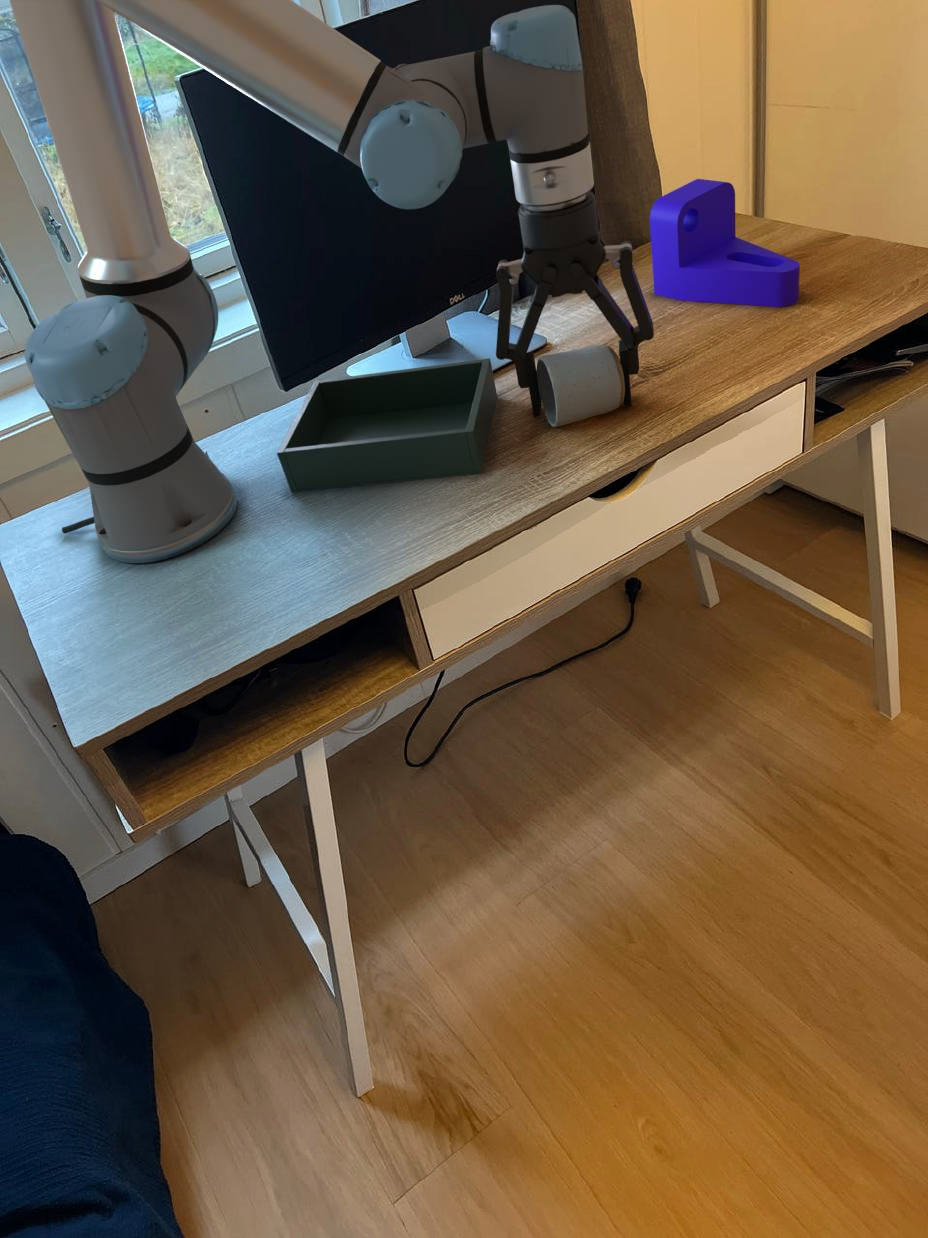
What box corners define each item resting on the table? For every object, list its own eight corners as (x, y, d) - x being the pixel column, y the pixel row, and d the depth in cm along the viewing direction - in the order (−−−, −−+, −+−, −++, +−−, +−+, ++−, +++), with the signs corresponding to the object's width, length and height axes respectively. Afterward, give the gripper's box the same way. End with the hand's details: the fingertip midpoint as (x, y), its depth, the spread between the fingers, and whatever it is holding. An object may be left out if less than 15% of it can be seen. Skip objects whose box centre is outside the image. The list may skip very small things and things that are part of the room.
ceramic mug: (631, 417, 100) (625, 351, 95) (560, 439, 100) (550, 373, 95) (598, 381, 108) (590, 317, 104) (531, 400, 108) (521, 338, 103)
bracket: (654, 294, 124) (648, 202, 116) (708, 263, 128) (706, 173, 120) (766, 320, 111) (768, 220, 104) (822, 286, 116) (828, 187, 108)
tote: (291, 492, 102) (276, 453, 99) (326, 417, 115) (314, 380, 112) (482, 473, 98) (473, 431, 94) (497, 397, 110) (490, 358, 107)
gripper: (439, 229, 89) (482, 433, 103) (674, 190, 84) (685, 410, 98) (450, 203, 95) (489, 401, 109) (670, 166, 90) (681, 378, 104)
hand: (582, 405), depth 103 cm, fingers closed on ceramic mug, 9 cm apart
